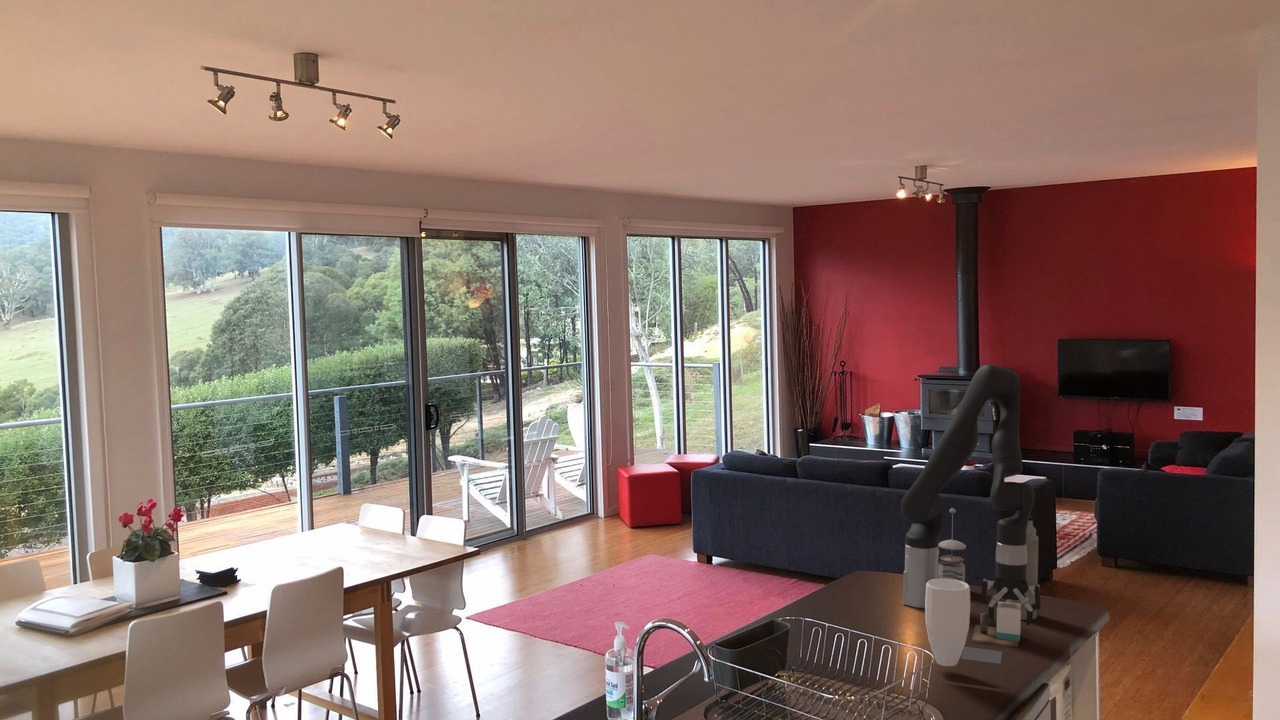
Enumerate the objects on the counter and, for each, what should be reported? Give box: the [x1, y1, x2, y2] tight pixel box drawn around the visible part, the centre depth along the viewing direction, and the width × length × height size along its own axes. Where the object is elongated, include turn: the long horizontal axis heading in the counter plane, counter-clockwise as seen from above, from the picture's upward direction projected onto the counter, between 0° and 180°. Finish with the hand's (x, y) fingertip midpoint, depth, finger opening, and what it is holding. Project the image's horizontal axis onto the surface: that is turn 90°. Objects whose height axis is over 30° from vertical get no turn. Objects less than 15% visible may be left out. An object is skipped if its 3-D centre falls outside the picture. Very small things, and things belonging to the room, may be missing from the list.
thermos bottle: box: [1005, 515, 1039, 621], centre depth 272 cm, size 8×8×28 cm
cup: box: [924, 579, 971, 667], centre depth 229 cm, size 10×10×22 cm
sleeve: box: [996, 600, 1022, 642], centre depth 252 cm, size 6×6×8 cm
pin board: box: [971, 612, 1020, 648], centre depth 254 cm, size 11×12×6 cm
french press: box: [938, 507, 967, 583], centre depth 296 cm, size 10×12×25 cm
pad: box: [960, 646, 1003, 665], centre depth 241 cm, size 9×9×1 cm
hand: (1010, 622), depth 252 cm, fingers open, 8 cm apart
